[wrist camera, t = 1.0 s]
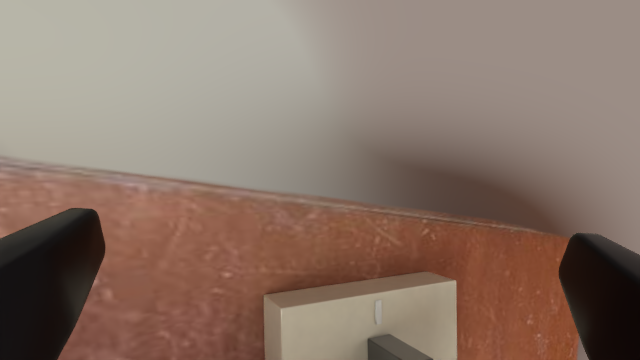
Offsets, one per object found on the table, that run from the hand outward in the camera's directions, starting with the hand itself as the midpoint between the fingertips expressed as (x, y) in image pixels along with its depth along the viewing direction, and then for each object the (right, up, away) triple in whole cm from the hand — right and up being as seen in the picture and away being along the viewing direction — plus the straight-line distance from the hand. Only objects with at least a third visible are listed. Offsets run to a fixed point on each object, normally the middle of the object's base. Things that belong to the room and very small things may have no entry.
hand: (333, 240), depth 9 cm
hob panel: (+2, -10, +20) cm, 23 cm away
